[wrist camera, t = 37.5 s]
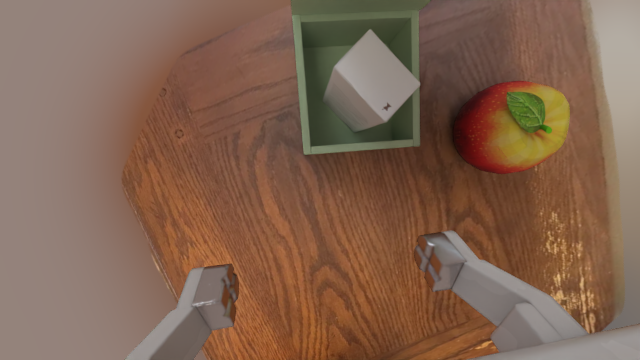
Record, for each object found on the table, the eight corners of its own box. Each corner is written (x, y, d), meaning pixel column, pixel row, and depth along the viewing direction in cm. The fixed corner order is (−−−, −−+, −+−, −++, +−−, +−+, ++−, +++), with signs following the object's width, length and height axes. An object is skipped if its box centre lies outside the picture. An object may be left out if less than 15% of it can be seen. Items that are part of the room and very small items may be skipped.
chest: (395, 146, 32) (420, 146, 25) (303, 153, 31) (303, 154, 24) (392, 39, 30) (418, 8, 23) (294, 44, 29) (291, 13, 22)
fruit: (478, 185, 33) (552, 201, 23) (423, 138, 32) (477, 134, 22) (528, 124, 33) (626, 114, 23) (474, 74, 31) (553, 39, 21)
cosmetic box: (376, 109, 30) (424, 85, 18) (353, 133, 30) (386, 125, 18) (343, 74, 29) (371, 25, 17) (320, 100, 29) (331, 68, 18)
